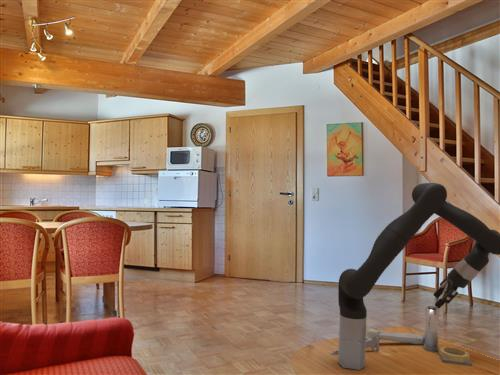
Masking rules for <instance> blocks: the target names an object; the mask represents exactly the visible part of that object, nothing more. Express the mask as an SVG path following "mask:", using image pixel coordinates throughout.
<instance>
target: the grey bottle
mask: <svg viewBox="0 0 500 375" xmlns="http://www.w3.org/2000/svg"><path fill="white" fill-rule="evenodd" d="M439 318H440V308H438V307H436V306H435V305H434V306H433V305H429V306H427V307H425V308H424V332H423V333H424V335H423V336H424V344H423V348H424V350H426V351H428V352H433V353H436V352H438V350H439Z"/></svg>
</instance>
